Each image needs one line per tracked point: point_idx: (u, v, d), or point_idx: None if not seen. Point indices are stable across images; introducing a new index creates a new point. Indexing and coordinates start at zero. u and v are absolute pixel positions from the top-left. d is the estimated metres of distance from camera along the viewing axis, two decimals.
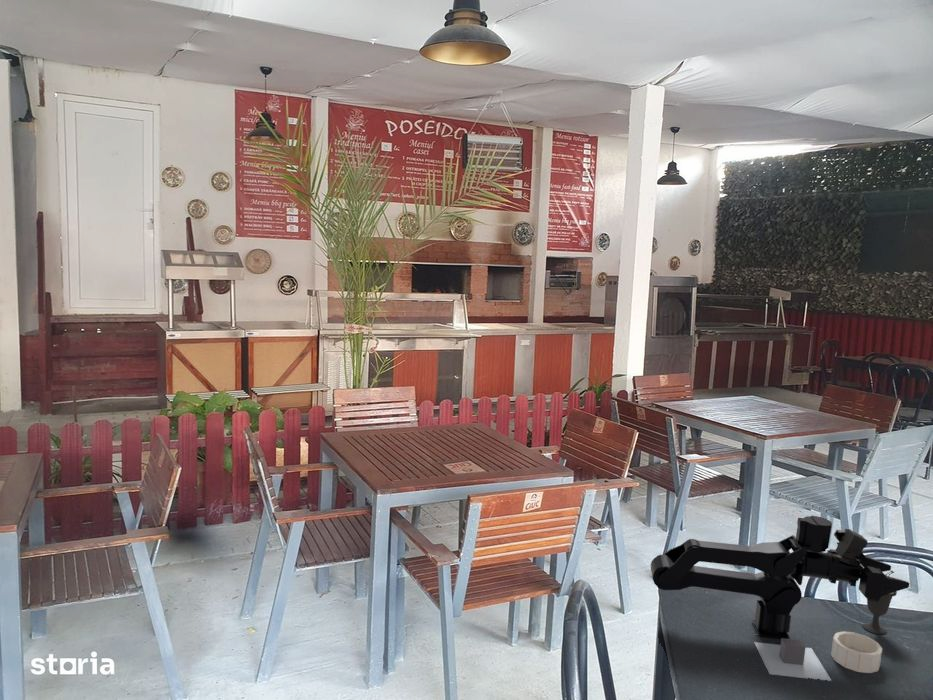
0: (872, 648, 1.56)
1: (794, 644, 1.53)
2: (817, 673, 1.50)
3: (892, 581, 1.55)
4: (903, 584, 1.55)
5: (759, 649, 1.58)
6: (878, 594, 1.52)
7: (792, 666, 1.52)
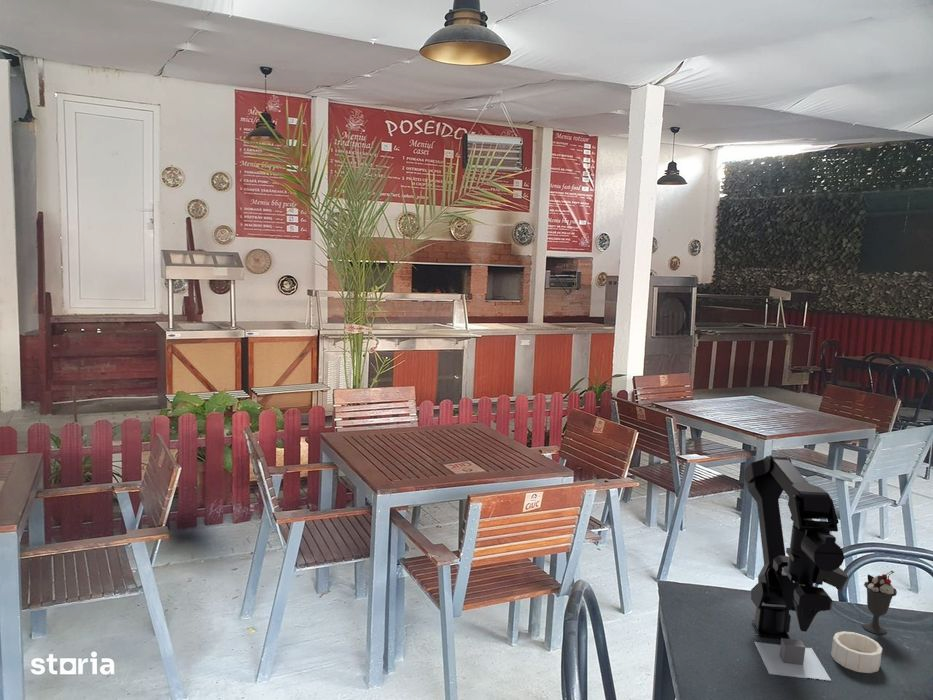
0: (872, 648, 1.56)
1: (794, 644, 1.53)
2: (816, 673, 1.50)
3: (811, 617, 1.47)
4: (805, 626, 1.48)
5: (759, 649, 1.58)
6: (809, 606, 1.43)
7: (791, 666, 1.52)
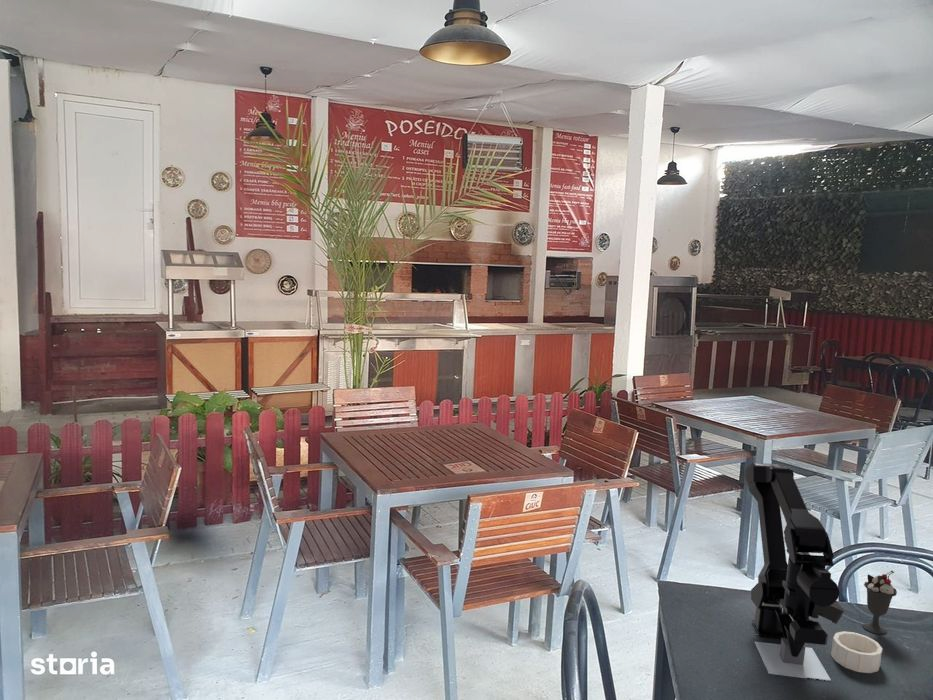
0: (872, 648, 1.56)
1: None
2: (816, 673, 1.50)
3: (802, 642, 1.51)
4: (796, 652, 1.52)
5: (759, 648, 1.58)
6: (805, 641, 1.44)
7: (791, 665, 1.52)
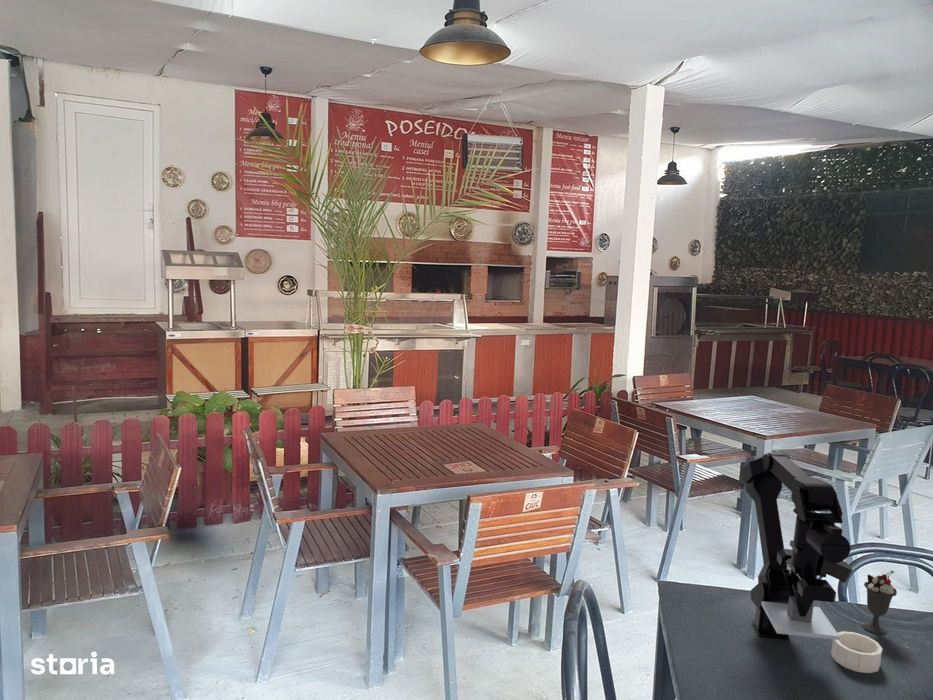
0: (872, 648, 1.56)
1: None
2: (825, 630, 1.49)
3: (810, 602, 1.49)
4: (804, 611, 1.51)
5: (766, 607, 1.57)
6: (812, 598, 1.43)
7: (799, 623, 1.51)
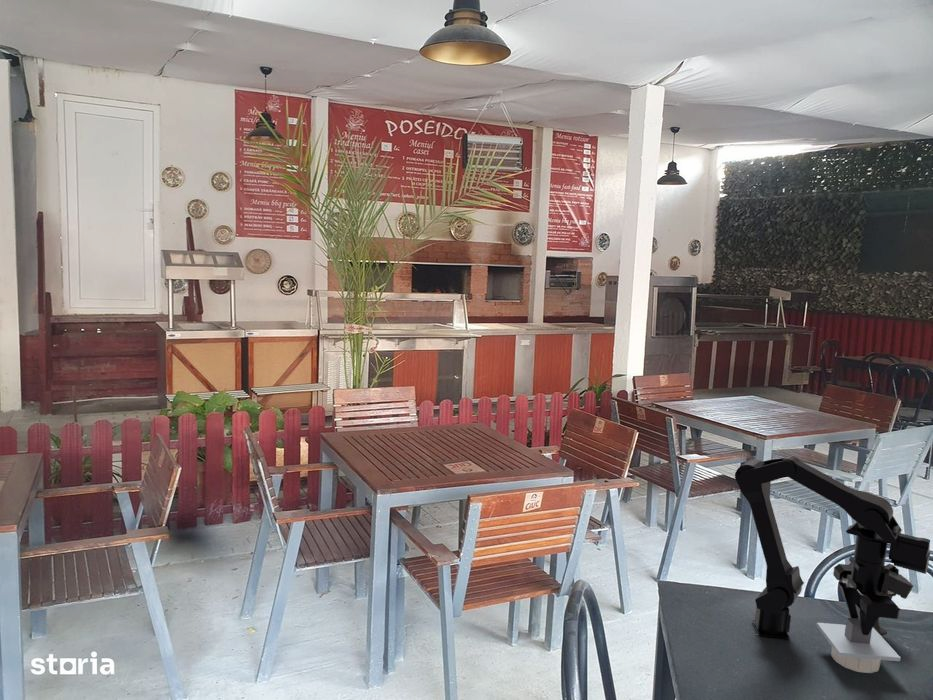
0: None
1: None
2: (885, 651, 1.51)
3: (873, 620, 1.50)
4: (867, 630, 1.51)
5: (823, 629, 1.59)
6: (877, 615, 1.45)
7: (859, 645, 1.53)
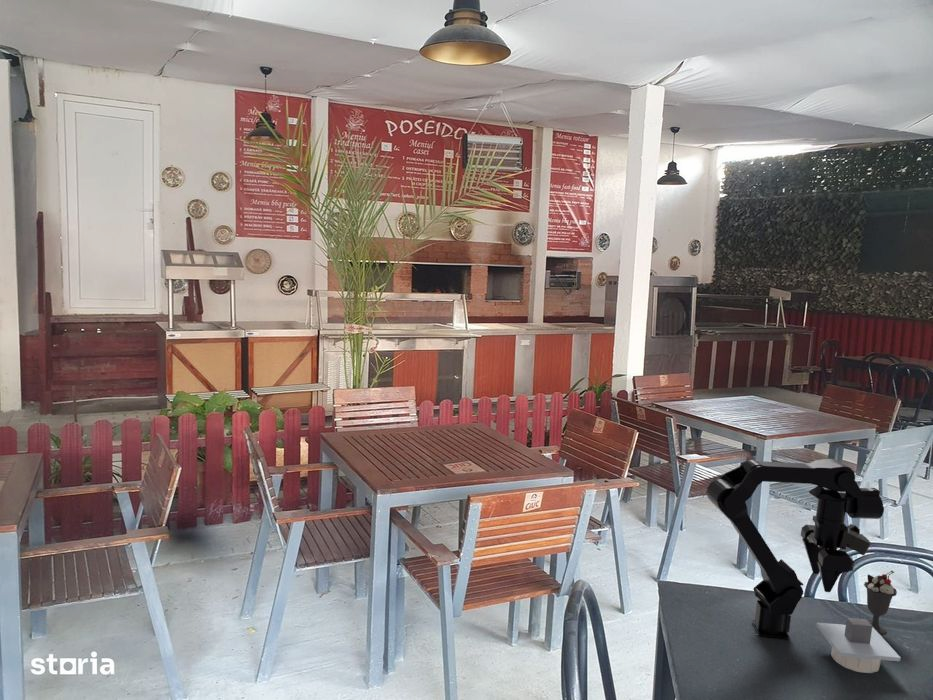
0: None
1: (861, 623, 1.54)
2: (885, 651, 1.51)
3: (834, 578, 1.59)
4: (829, 587, 1.60)
5: (823, 629, 1.59)
6: (832, 567, 1.55)
7: (859, 645, 1.53)
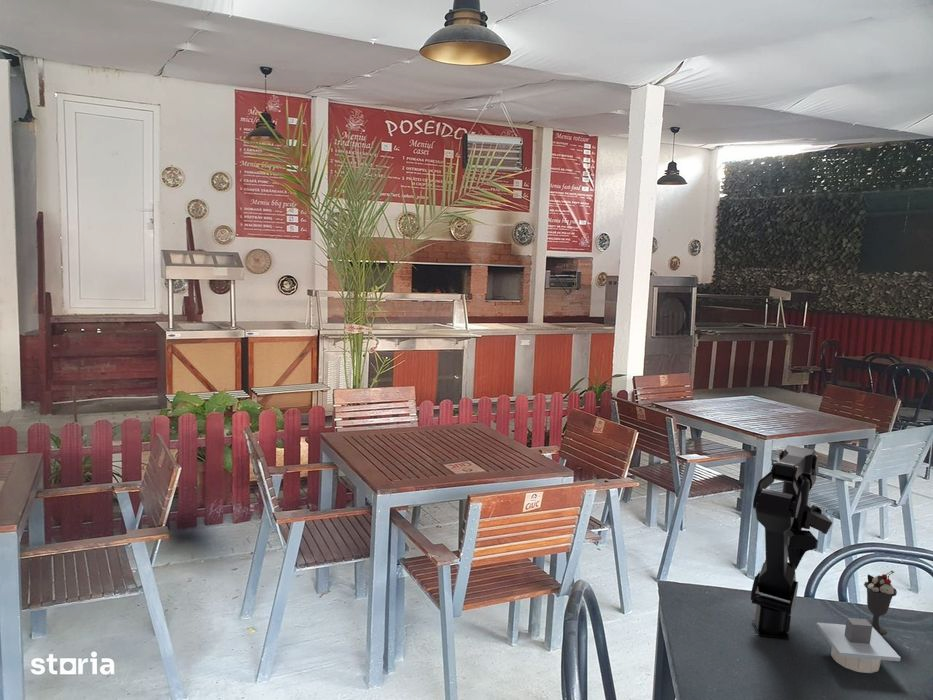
0: None
1: (861, 623, 1.54)
2: (885, 651, 1.51)
3: (800, 556, 1.69)
4: (795, 565, 1.70)
5: (823, 629, 1.59)
6: (798, 546, 1.65)
7: (859, 645, 1.53)
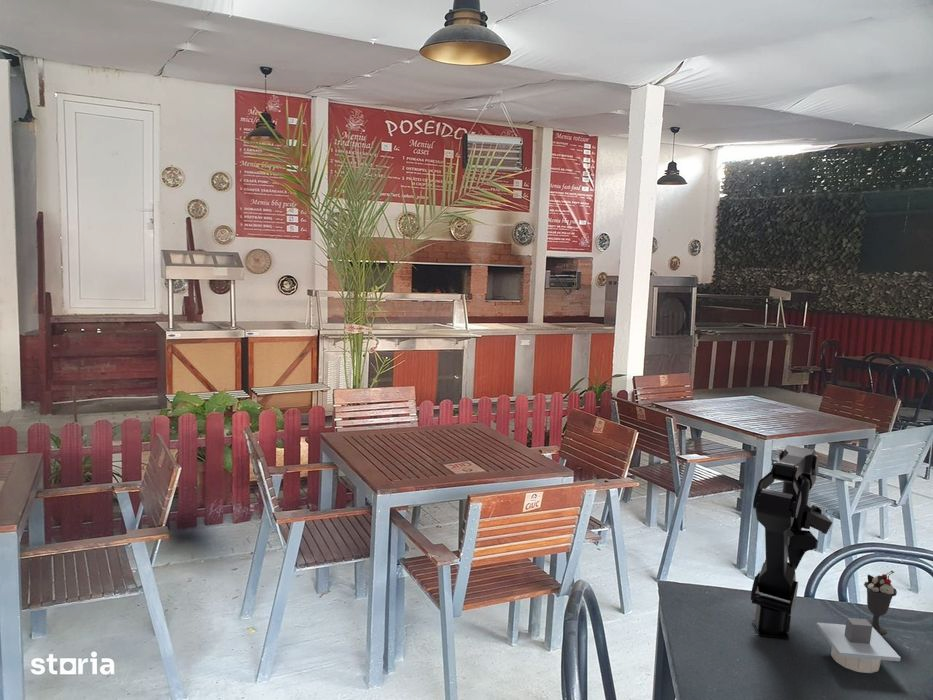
0: None
1: (861, 623, 1.54)
2: (885, 651, 1.51)
3: (800, 556, 1.69)
4: (795, 565, 1.70)
5: (823, 629, 1.59)
6: (798, 546, 1.66)
7: (859, 645, 1.53)
